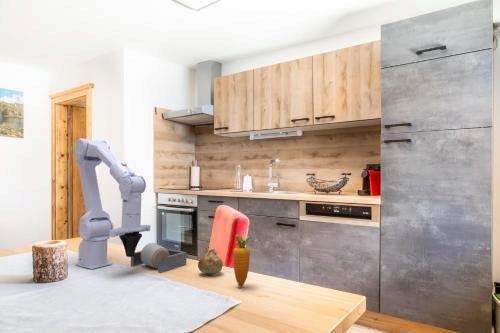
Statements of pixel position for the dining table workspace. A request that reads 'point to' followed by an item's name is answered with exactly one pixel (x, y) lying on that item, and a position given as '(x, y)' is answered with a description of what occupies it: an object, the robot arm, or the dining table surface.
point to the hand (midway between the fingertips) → (129, 256)
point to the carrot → (241, 260)
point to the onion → (210, 263)
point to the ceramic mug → (153, 254)
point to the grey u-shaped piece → (164, 260)
